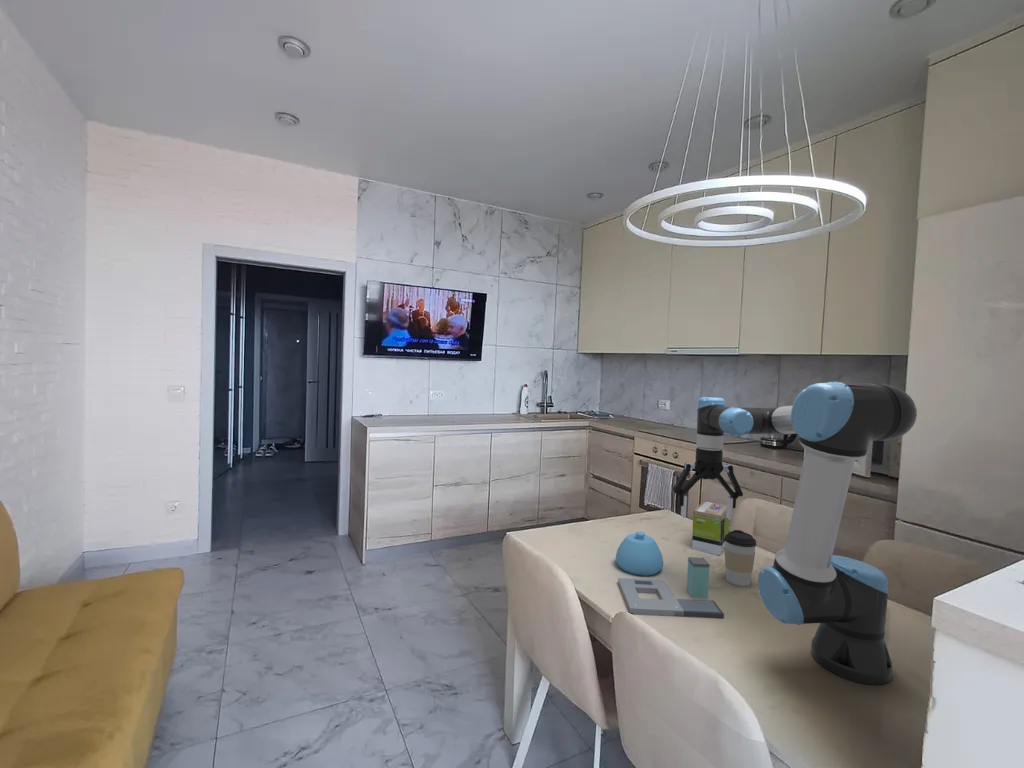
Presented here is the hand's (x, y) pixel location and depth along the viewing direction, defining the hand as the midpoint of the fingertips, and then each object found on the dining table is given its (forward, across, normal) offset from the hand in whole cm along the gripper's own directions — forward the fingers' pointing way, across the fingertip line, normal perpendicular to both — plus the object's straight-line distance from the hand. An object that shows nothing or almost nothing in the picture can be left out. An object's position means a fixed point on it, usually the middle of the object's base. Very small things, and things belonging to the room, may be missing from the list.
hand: (706, 517), depth 146 cm
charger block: (+20, +4, +8) cm, 22 cm away
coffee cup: (+21, -12, -3) cm, 24 cm away
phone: (+20, +8, +17) cm, 28 cm away
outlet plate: (+20, +19, +12) cm, 30 cm away
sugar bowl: (+21, +18, -9) cm, 29 cm away
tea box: (+20, -13, -31) cm, 39 cm away
